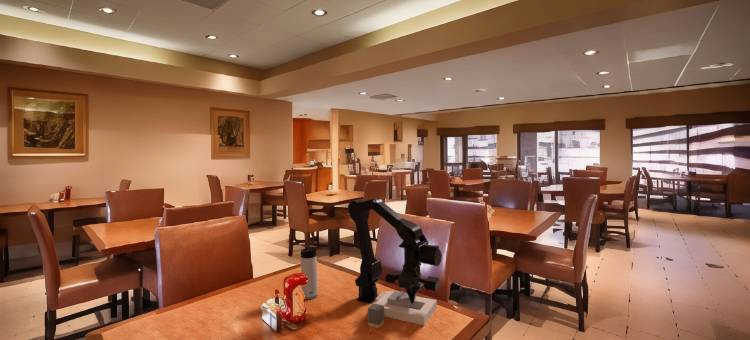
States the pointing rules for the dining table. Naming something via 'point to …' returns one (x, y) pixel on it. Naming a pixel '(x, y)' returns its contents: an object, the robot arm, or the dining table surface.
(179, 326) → the dining table surface
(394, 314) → the socket
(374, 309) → the plug
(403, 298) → the block
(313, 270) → the travel mug
